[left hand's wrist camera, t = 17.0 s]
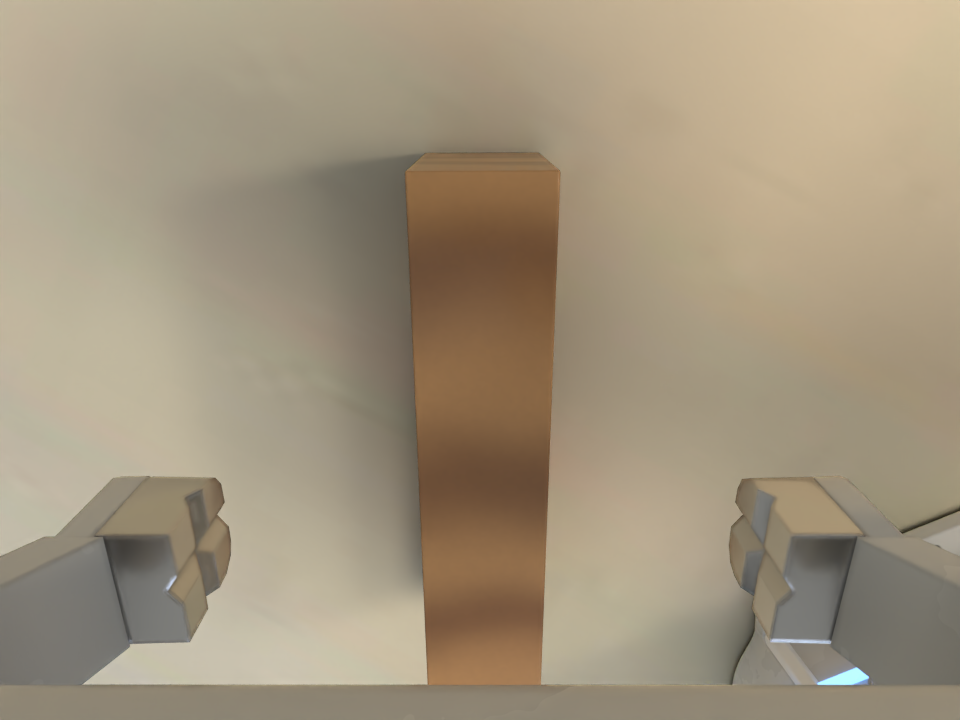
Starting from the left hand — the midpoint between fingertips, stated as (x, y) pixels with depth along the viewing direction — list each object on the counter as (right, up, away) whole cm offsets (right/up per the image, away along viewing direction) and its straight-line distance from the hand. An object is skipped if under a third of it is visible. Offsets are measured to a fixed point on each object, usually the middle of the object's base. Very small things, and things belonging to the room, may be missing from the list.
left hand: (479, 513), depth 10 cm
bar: (0, +1, +25) cm, 25 cm away
